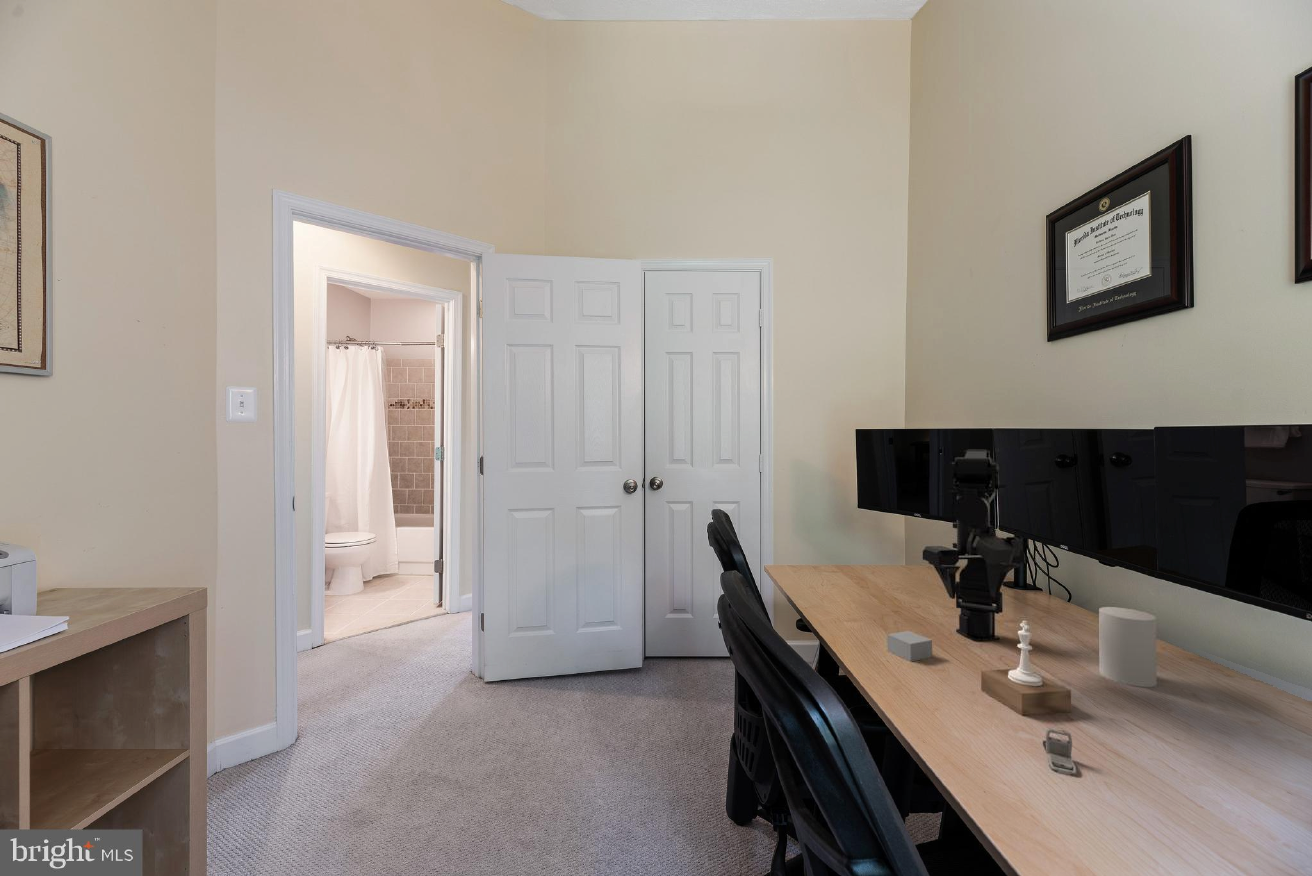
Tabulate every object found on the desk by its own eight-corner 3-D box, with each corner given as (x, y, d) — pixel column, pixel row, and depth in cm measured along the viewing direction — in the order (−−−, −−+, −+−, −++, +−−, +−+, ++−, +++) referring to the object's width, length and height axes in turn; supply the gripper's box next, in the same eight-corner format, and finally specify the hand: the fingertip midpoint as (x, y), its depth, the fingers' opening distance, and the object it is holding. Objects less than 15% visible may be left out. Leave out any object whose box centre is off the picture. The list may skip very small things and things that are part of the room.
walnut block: (1026, 687, 99) (1026, 668, 99) (1071, 711, 90) (1071, 690, 90) (981, 690, 97) (981, 670, 97) (1021, 715, 88) (1021, 693, 89)
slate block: (908, 647, 118) (908, 630, 118) (932, 657, 113) (932, 639, 113) (887, 651, 116) (887, 634, 116) (910, 661, 110) (910, 644, 110)
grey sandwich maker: (1078, 780, 72) (1078, 748, 72) (1050, 773, 73) (1050, 741, 73) (1066, 748, 79) (1066, 719, 79) (1041, 743, 81) (1041, 714, 81)
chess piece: (1029, 673, 96) (1029, 616, 96) (1049, 686, 91) (1049, 626, 91) (1001, 673, 96) (1001, 616, 96) (1019, 686, 91) (1019, 625, 91)
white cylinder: (1146, 673, 105) (1146, 610, 105) (1164, 690, 98) (1163, 622, 98) (1093, 665, 109) (1093, 605, 109) (1107, 681, 101) (1106, 616, 101)
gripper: (958, 526, 101) (958, 611, 101) (1048, 524, 103) (1048, 607, 103) (920, 518, 112) (920, 595, 112) (1003, 517, 115) (1003, 592, 114)
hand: (973, 597), depth 110 cm, fingers open, 9 cm apart
